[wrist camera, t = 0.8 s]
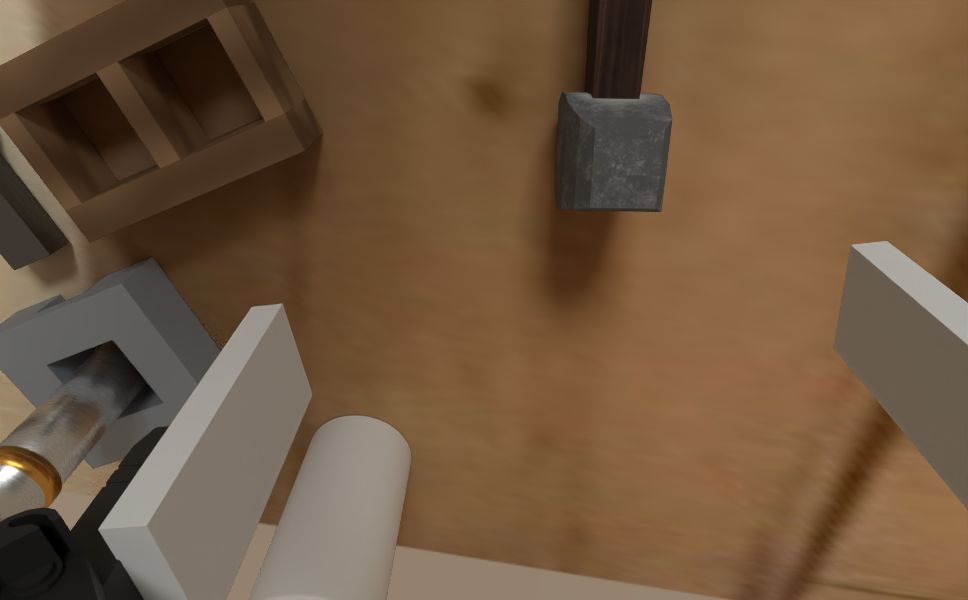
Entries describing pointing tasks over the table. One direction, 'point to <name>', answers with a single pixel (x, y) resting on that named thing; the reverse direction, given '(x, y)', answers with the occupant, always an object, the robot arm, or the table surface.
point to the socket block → (137, 332)
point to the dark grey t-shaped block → (24, 223)
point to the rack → (149, 109)
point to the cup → (340, 516)
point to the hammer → (613, 120)
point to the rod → (65, 430)
